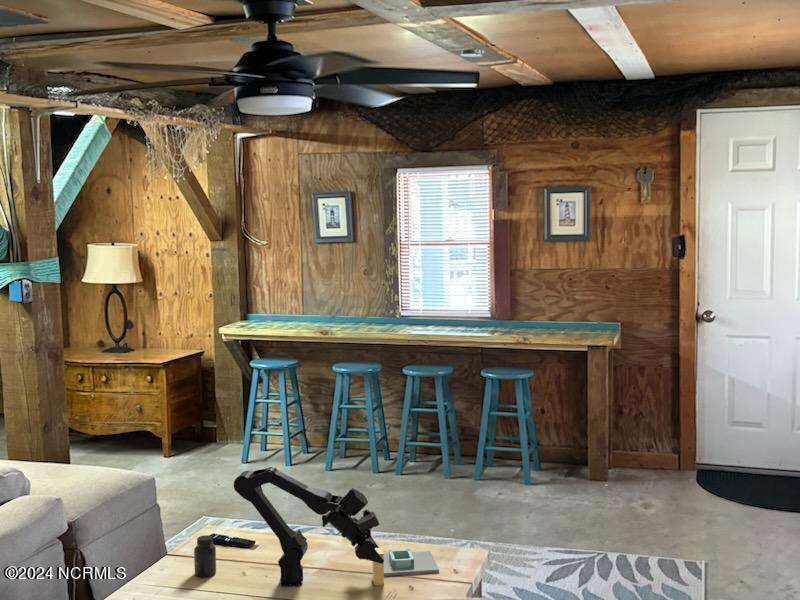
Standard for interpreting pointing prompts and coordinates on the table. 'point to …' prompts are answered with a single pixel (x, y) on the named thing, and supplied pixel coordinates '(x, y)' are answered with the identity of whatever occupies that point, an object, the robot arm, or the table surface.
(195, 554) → the supplement bottle
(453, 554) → the table surface
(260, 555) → the table surface
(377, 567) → the block
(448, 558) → the table surface
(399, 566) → the plate
